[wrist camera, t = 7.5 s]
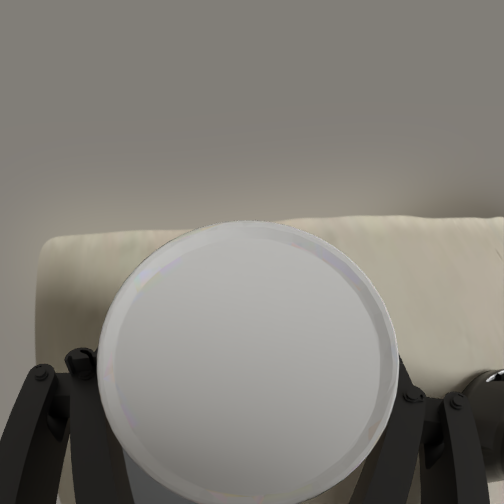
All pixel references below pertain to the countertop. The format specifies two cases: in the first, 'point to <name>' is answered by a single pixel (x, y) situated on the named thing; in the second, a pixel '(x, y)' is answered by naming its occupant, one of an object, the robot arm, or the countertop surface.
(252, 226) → the coffee cup
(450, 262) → the countertop surface
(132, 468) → the rubber mat
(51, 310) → the countertop surface
